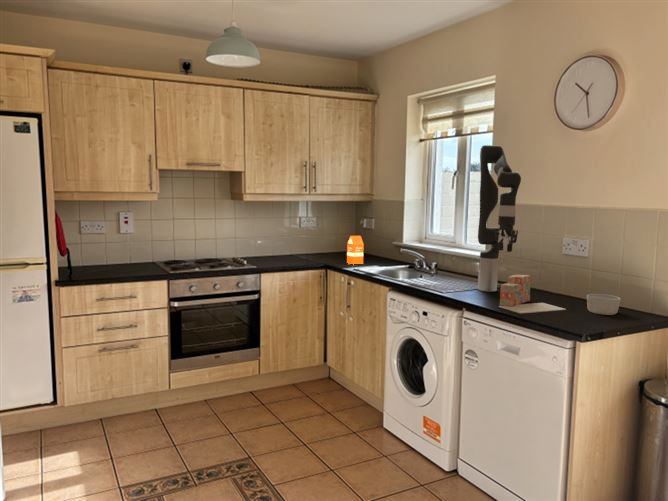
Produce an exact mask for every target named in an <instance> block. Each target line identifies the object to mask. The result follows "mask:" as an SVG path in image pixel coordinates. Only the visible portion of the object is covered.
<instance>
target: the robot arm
mask: <svg viewBox="0 0 668 501" xmlns="http://www.w3.org/2000/svg"><path fill="white" fill-rule="evenodd" d="M479 163H480V164H479V168H480V180H479V181H480V182H479V183H480V184H479V186H480V187H479V219H478V228H477V241H478V244H480V245H483V246H484V245H490V247H489V248H487V249H485V250H482V251H481V252H480V253H479V268H478V269H479V270H478V271H477V272H478V273H477V290H479V291H481V292H489V293H490V292H491V293H492V292H497V291H498V290H497V289H498V271H499V255H500V251H504V241H505V239H506V242H507V246H506V252H508V253H511V252H512V251H513V245H514V244H516V243H517V239H518V234H519V231H518V229H516V230H515V229H514V226H515V224H516V212H517V210H516V202H517V201H516V200H517V195H518V192H519V188H520V185H521V182H522V177H521V175H520V173H518V172H513V170H512V168H511V166H509V164H508V161H507V158H506V155H505V151H504V148H503V147H502V146H501V145H494V144H493V145H491V144H487V145H486V144H484V145H482V146H481V147H480V151H479ZM489 164H494V165H493V171H494V173H495V175H496V177H497V179H496V182H495V179H494V178H493V177H492V174H491V172H490V170H489ZM498 186H499V187H500V188H505V189H507V188H508V189H509V188H510V190H509V191H508V192H502V193H501V194H500V195H499V187H498ZM498 202H499V207H498V218H497V219H498V220H497V225H498V226H499V227H498V226H487V224H488V219H489V217H490V215H491V214H492V212H493V211H494V209H495V208H496V206H497V205H498Z"/></svg>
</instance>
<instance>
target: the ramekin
mask: <svg viewBox="0 0 668 501" xmlns="http://www.w3.org/2000/svg"><path fill="white" fill-rule="evenodd" d="M621 299H622V298H621V297H619V296H615V295H612V294H611V295H610V294H605V293H588V294H586V304H587V307H586V308H587V310H588V311H589V312H590V313H593V314H598V315H604V316H605V315H606V316H607V315H608V316H613V315H616V314H617V313H618V311H619V309H620V308H619V307H620V304H621V303H620V302H622V300H621Z"/></svg>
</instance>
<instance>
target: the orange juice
mask: <svg viewBox="0 0 668 501" xmlns="http://www.w3.org/2000/svg"><path fill="white" fill-rule="evenodd" d="M364 245H365V244H364V241H363V238H362V236H361V235H349V239H348V241H347V245H346V246H347V248H346V264H347V263H348V264H347V265H350V264H353V265H352V266H355V265H354V264H363V265H364Z"/></svg>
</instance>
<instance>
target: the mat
mask: <svg viewBox="0 0 668 501" xmlns="http://www.w3.org/2000/svg"><path fill="white" fill-rule="evenodd" d="M498 308H501V309H504V310H508V311H511V312H514V313H517V314H532V313H545V312H546V313H547V312H557V311H566V310H567V309H566V308H564V307H559V306H556V305H552V304H549V303H545V302H537V303H536V302H534V303H533V302H532V303H521V304H518V305H515V306H507V305H498Z"/></svg>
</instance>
